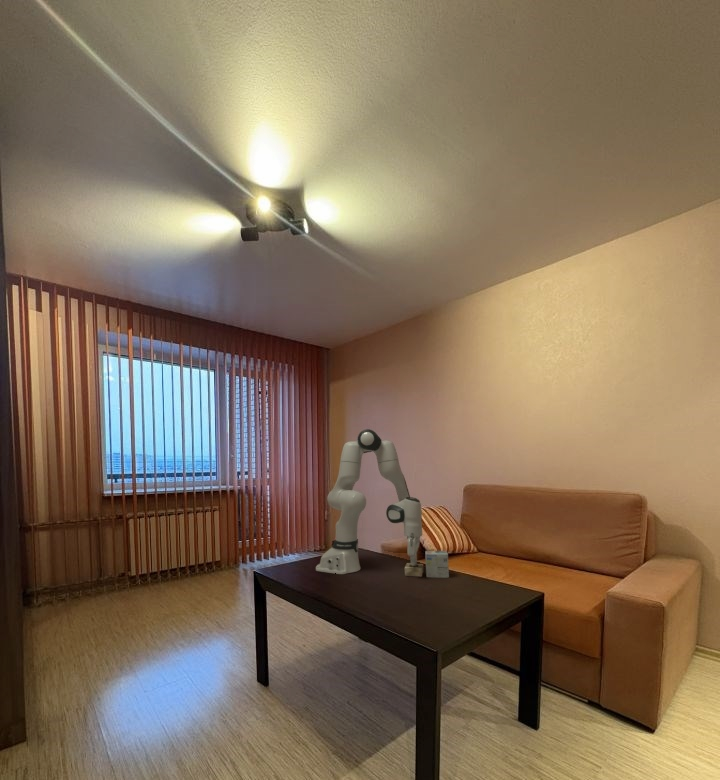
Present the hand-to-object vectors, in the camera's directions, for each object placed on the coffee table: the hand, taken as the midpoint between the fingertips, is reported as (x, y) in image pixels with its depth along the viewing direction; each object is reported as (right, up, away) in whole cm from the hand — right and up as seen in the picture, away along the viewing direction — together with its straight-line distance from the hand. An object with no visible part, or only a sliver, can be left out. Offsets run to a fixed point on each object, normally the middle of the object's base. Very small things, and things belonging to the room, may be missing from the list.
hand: (413, 561), depth 195 cm
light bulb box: (+10, -5, -4) cm, 13 cm away
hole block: (0, -6, -1) cm, 6 cm away
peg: (0, -6, -1) cm, 6 cm away
